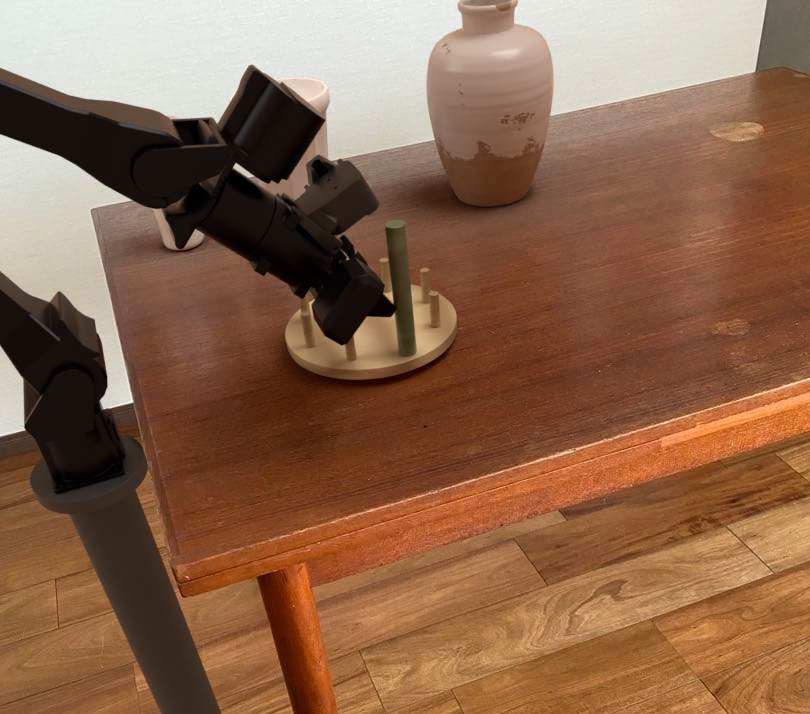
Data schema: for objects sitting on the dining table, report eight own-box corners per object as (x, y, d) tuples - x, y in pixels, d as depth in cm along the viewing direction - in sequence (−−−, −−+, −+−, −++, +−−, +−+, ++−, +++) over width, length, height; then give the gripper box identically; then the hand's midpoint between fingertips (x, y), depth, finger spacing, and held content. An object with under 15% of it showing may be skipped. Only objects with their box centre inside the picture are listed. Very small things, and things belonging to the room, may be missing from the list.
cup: (359, 216, 118) (343, 93, 107) (272, 241, 114) (247, 116, 104) (324, 187, 126) (306, 70, 116) (242, 210, 123) (216, 92, 112)
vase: (488, 227, 111) (483, 23, 96) (409, 196, 121) (393, 6, 106) (576, 188, 118) (584, -9, 102) (494, 161, 128) (491, -22, 112)
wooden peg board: (336, 401, 84) (312, 260, 74) (259, 328, 96) (230, 198, 86) (491, 338, 90) (487, 200, 80) (400, 276, 102) (388, 149, 92)
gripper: (344, 177, 65) (486, 280, 74) (281, 109, 78) (409, 204, 88) (261, 302, 68) (407, 385, 78) (215, 217, 82) (345, 297, 91)
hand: (392, 311), depth 84 cm, fingers closed, pressing on wooden peg board
